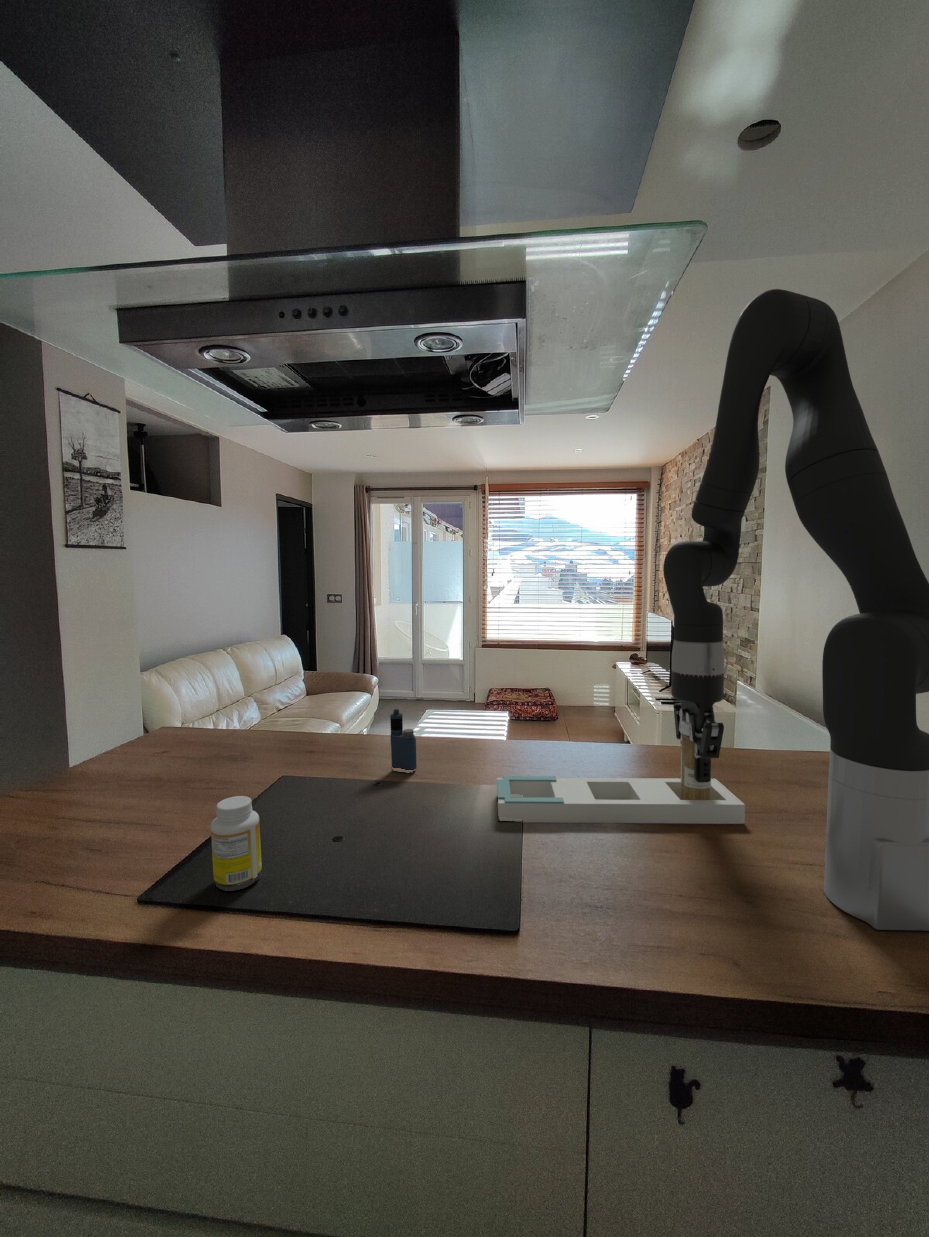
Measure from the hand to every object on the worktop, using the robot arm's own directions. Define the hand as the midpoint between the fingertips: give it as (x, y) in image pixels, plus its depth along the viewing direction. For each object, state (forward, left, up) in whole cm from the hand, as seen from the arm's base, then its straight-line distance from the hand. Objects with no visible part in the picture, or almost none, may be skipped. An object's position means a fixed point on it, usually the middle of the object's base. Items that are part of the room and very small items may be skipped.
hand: (695, 774), depth 82 cm
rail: (0, +13, -6) cm, 14 cm away
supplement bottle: (-21, +65, -6) cm, 68 cm away
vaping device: (+16, +50, -6) cm, 53 cm away
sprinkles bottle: (0, 0, -5) cm, 5 cm away
